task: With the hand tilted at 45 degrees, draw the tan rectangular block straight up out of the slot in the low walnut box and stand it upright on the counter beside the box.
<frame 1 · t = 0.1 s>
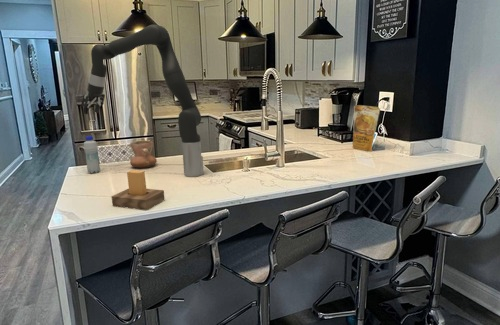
hand: (91, 113, 186), 31 cm above the worktop, tool tilted 20°, fingers open, 8 cm apart
tan rectangular block: (137, 187, 139), in the slotted box
bottle: (94, 172, 189), on the worktop
pancake mix bag: (363, 149, 227), on the worktop
reddish brown vase: (143, 166, 199), on the worktop
slotted box: (139, 202, 141), on the worktop
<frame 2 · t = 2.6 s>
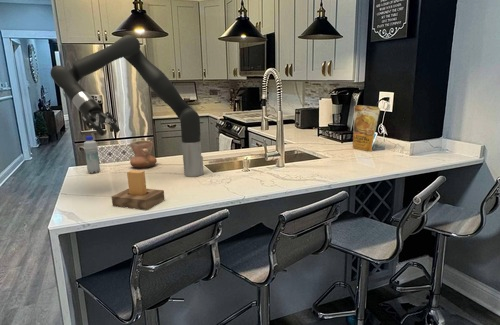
hand: (111, 132, 147), 27 cm above the worktop, tool tilted 45°, fingers open, 8 cm apart
nothing on the worktop moved.
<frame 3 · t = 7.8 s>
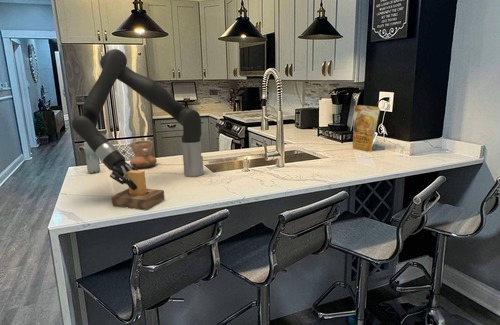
hand: (138, 187, 139), 6 cm above the worktop, tool tilted 45°, fingers closed on tan rectangular block, 3 cm apart
tan rectangular block: (137, 187, 139), in the slotted box, touching gripper
everything else where it was.
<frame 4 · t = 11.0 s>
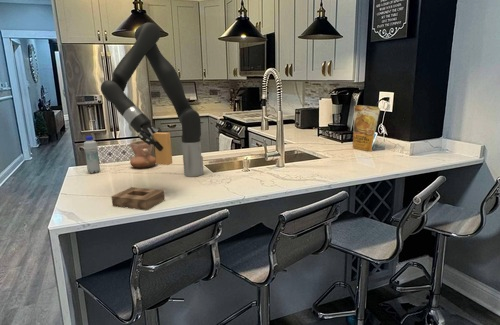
hand: (164, 148, 146), 20 cm above the worktop, tool tilted 45°, fingers closed on tan rectangular block, 3 cm apart
tan rectangular block: (163, 148, 146), point 20 cm above the worktop, touching gripper
everything else where it was.
when the fingers open (8 cm above the worktop, at t = 13.8 s): tan rectangular block drops 1 cm, on the worktop.
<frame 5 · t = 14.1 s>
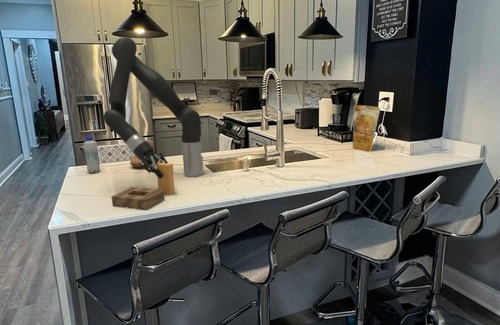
hand: (165, 175, 149), 8 cm above the worktop, tool tilted 45°, fingers open, 5 cm apart
tan rectangular block: (165, 178, 149), on the worktop
everything else where it was.
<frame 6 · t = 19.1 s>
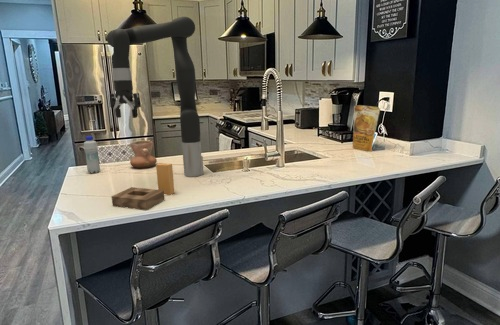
hand: (126, 117, 152), 32 cm above the worktop, tool pointing down, fingers open, 8 cm apart
nothing on the worktop moved.
at the end: tan rectangular block inside the target area (0.3 cm from its centre), on the worktop; tan rectangular block tilted 0°; the gripper is holding nothing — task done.
